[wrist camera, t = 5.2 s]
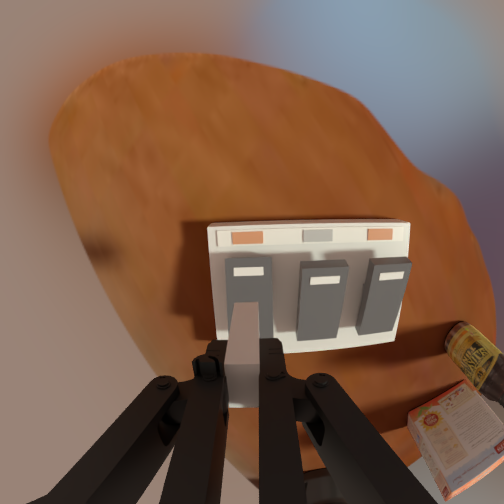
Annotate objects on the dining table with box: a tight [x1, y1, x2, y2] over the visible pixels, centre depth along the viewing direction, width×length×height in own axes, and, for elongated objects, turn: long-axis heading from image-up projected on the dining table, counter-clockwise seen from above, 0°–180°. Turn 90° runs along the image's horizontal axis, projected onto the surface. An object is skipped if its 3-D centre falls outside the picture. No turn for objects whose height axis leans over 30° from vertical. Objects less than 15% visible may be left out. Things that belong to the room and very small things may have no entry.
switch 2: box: [355, 256, 412, 336], centre depth 27 cm, size 9×4×2 cm, turn 3°
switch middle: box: [295, 259, 349, 341], centre depth 27 cm, size 9×4×2 cm, turn 3°
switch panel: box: [207, 219, 410, 353], centre depth 30 cm, size 15×22×4 cm
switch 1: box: [225, 257, 274, 338], centre depth 27 cm, size 9×4×2 cm, turn 1°
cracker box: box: [407, 380, 504, 501], centre depth 28 cm, size 14×6×21 cm, turn 109°
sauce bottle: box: [445, 322, 504, 408], centre depth 24 cm, size 7×6×20 cm
